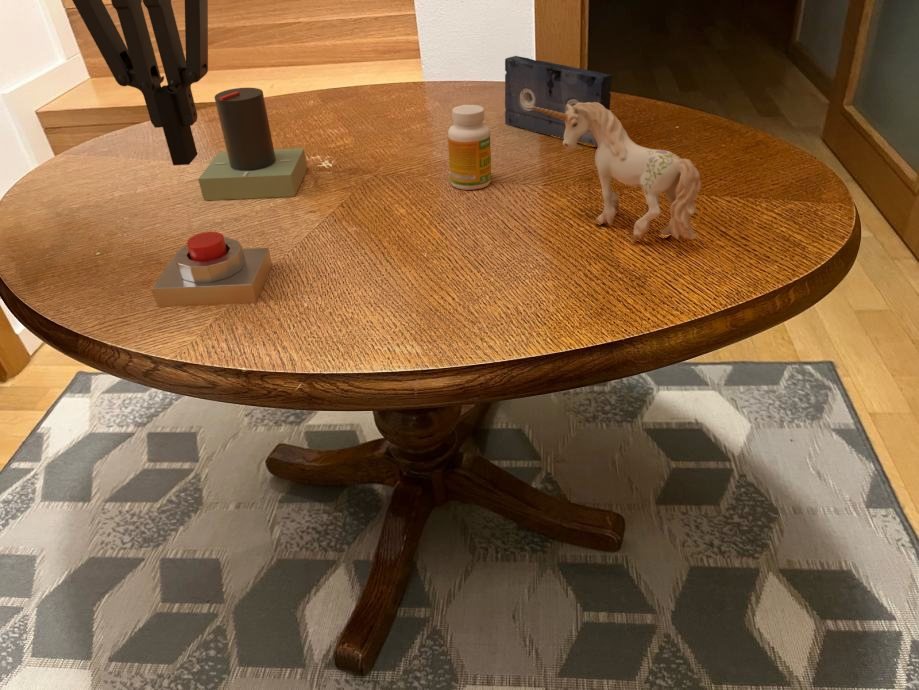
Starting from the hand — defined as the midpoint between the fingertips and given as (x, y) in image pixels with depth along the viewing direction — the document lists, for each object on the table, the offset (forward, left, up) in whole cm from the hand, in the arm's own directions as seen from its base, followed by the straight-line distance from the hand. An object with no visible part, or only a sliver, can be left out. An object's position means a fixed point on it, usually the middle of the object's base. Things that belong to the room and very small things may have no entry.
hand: (185, 159), depth 69 cm
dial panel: (-2, +28, -14) cm, 31 cm away
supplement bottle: (+27, +25, -14) cm, 39 cm away
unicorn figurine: (+42, +8, -14) cm, 45 cm away
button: (0, 0, -10) cm, 10 cm away
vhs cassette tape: (+40, +43, -14) cm, 60 cm away
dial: (-2, +28, -11) cm, 30 cm away
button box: (0, 0, -14) cm, 14 cm away
